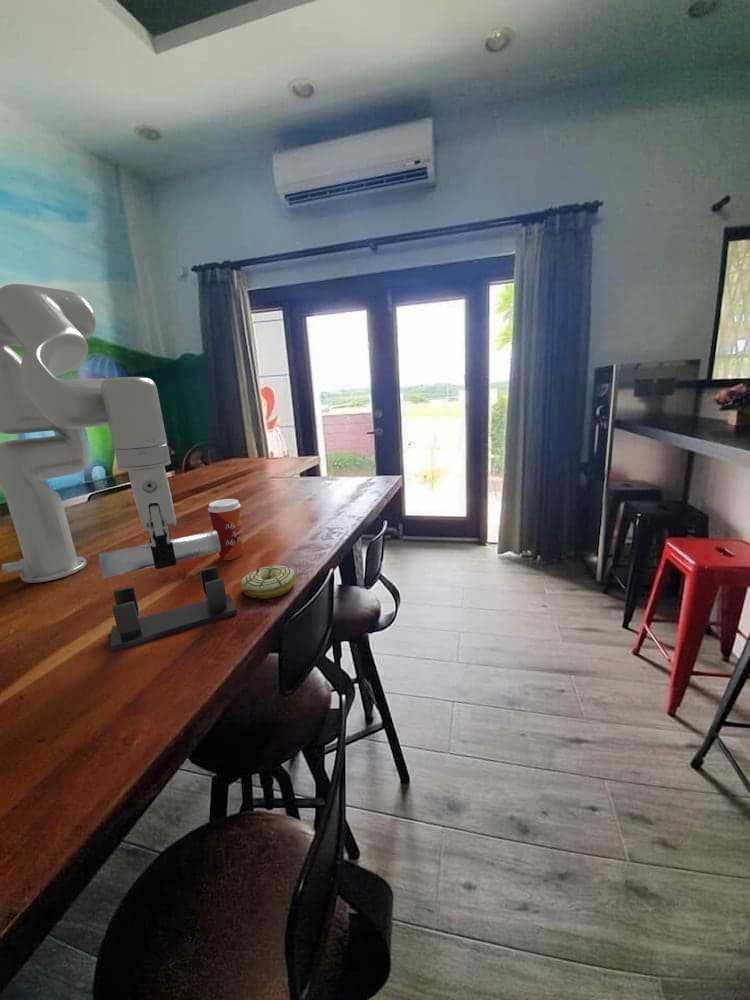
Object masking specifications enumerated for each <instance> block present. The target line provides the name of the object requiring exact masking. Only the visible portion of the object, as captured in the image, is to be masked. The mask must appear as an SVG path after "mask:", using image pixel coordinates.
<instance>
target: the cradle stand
mask: <svg viewBox="0 0 750 1000" xmlns="http://www.w3.org/2000/svg"><path fill="white" fill-rule="evenodd" d="M218 571H219V570H218V566H217V565H215V566H210V567H205V568H203V569H202V568H201V569H199V573H200V579H201V585H202V590H203V593H204V598H205V599H204V600H202V601H198V602H195V603H192V604H187V605H183V606H180V607H177V608H172V609H169V610H165V611H162V612H159V613H156V614H152V615H148V616H144V617H141V616H140V611H139V610H140V608H139V604H138V599H137V596H136V590H135V587H134V585H133V586H127V587H123V588H119V589H114V590H113V595H114V600H115V604H116V605H113V606H112V607H111V608H112V613H113V618H114V621H115V624H116V625H112V626H111V633H110V635H111V636H110V645H109V646H110V647H109V648H110V651H111V653H113V652H116V651H120V650H124V649H126V648H129V647H130V648H131V647H134V646H137V645H140V644H143V643H146V642H150V641H152V640H153V641H154V640H157V639H160V638H164V637H166V636H169V635H172V634H175V633H176V634H177V633H180V632H182V631H186V630H189V629H192V628H197V627H199V626H202V625H205V624H209V623H212V622H216V621H220V620H222V619H226V618H229V617H232V616H235V615H238V609H237V607H236V605H235V603H234V601H233V599H232V597H231V595H230V594H229V593H227V594H226V588H225V582H224V579H223V578H219V573H218Z"/></svg>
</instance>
